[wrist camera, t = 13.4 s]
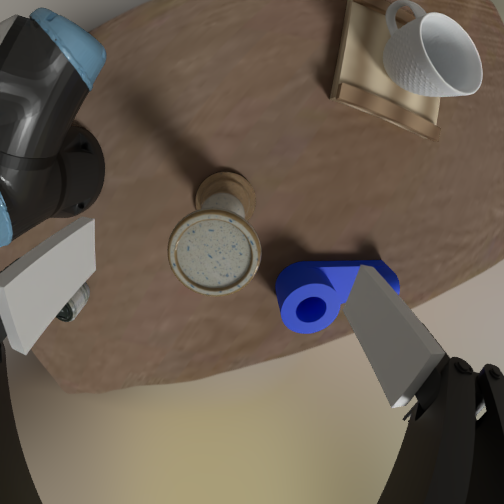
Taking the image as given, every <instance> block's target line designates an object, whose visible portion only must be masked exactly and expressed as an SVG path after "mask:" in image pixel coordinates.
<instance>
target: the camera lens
mask: <svg viewBox="0 0 504 504" xmlns="http://www.w3.org/2000/svg"><path fill="white" fill-rule="evenodd" d="M89 295H90V290H89V287H88V285H87V283H86V282H84V284H83V285H82V286H81V287H80V288H79V289H78V290H77V292H76V293H75V294H74V295H73V296H72V297H71V298H70V300H69V301H68V302H67V303H66V304H65V306H64V307H63V308H62V309H61V310H60V312H59V313H58V314H57V315H56V317H57V318H58V319H59V320H61V321H64V322H70V321H73V320H74V319H75V317H76V316H77V315H78V313H79V312H80V311H81V309H82V308H83V307H84V305H85V304H86V302H87V300H88V298H89Z"/></svg>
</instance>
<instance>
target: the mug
mask: <svg viewBox="0 0 504 504" xmlns="http://www.w3.org/2000/svg"><path fill="white" fill-rule="evenodd" d="M402 6H409V7H410V8H411V9H412V11H413V13H414V16H415V18H416V19H414V20H412V21H411V22H408V23H407V24H406V25H404V26H402V27H401V28H399V29H398V28H397V25H396V21H395V15H396V12H397V11H398V9H399V8H400V7H402ZM385 17H386V24H387V27H388V30H389V33H390V35H391V37H390V39H389V40H388V42H387V43H386V46H385V47H384V51H383V64H384V68H385V70H386V72H387V74H388V76H389V77H390V78H391V79H392V81H393V82H395V83H396V84H397V85H398V86H400V87H401V88H403V89H404V90H406V91H409V92H411V93H414V94H418V95H423V96H429V97H449V96H461V95H471V94H473V93H475V92H476V91H477V90H478V89H479V87H480V85H481V82H482V64H481V60H480V57H479V54H478V51H477V49H476V47H475V45H474V43H473V41H472V40H471V38H470V37H469V35H468V34H467V33H466V31H465V30H464V29H463V28H462V27H461V26H460V25H459V24H458V23H456V22H455V21H454V20H453V19H451V18H449V17H448V16H446V15H444V14H441V13H436V12H432V13H428V14H427V13H426V12H425V11H424V9H423V8H422V7H421V6H419V5H418V4H416V3H415V2H412V1H408V0H398V1H395V2H393V3H392V4H391V5H390V6H389V7H388V8H387V11H386V14H385Z"/></svg>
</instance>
